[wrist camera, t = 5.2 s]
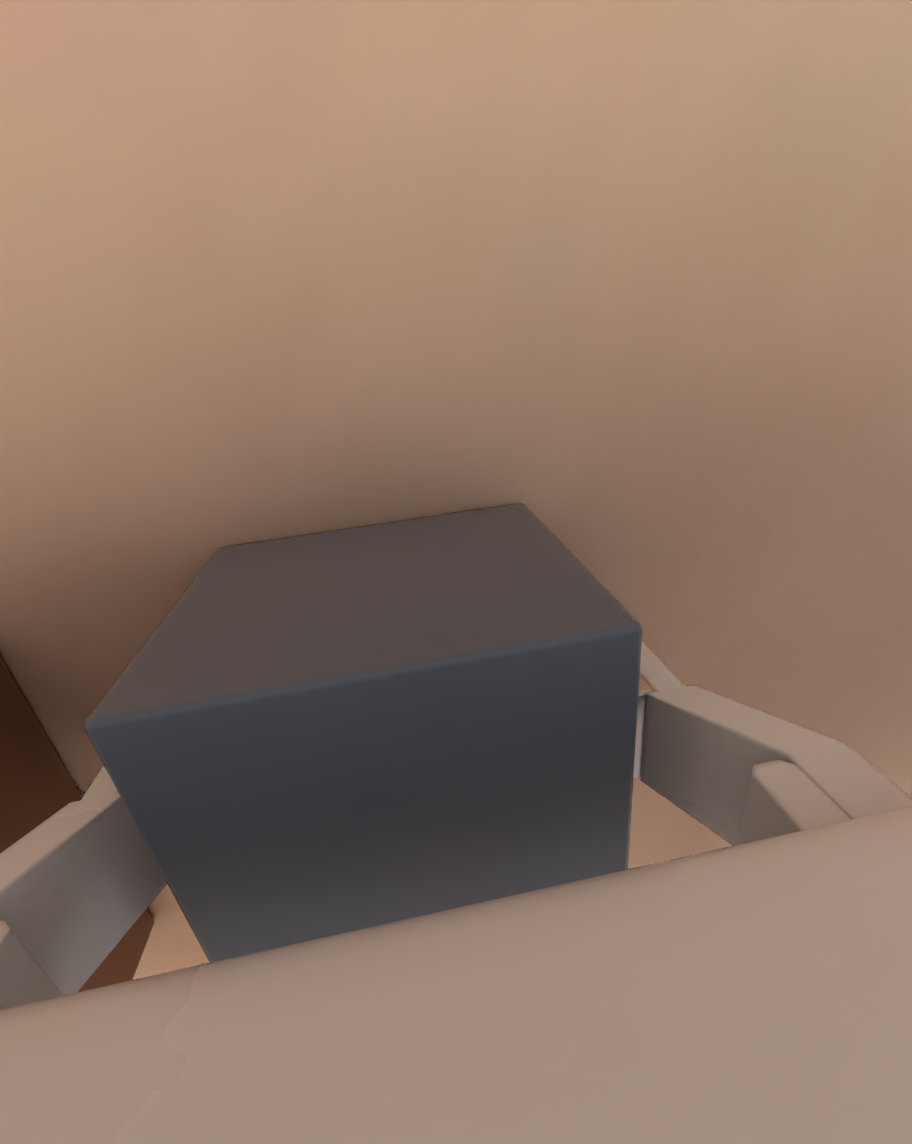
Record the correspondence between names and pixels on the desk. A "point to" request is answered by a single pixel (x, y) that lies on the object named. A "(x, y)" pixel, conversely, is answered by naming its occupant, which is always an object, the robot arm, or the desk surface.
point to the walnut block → (48, 809)
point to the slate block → (378, 728)
